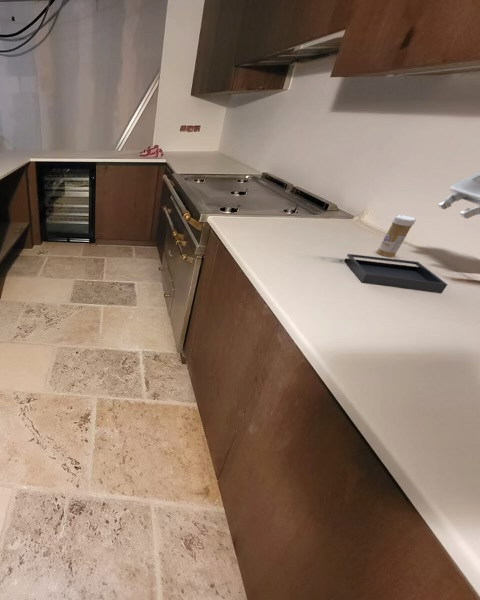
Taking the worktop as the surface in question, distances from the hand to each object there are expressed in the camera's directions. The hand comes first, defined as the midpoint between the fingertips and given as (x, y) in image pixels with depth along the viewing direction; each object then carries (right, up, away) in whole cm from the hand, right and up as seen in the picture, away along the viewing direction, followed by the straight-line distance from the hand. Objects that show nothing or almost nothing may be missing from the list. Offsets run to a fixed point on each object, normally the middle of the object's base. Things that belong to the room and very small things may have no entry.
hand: (451, 211), depth 88 cm
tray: (-15, -18, +2) cm, 24 cm away
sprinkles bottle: (-9, -12, +11) cm, 19 cm away
